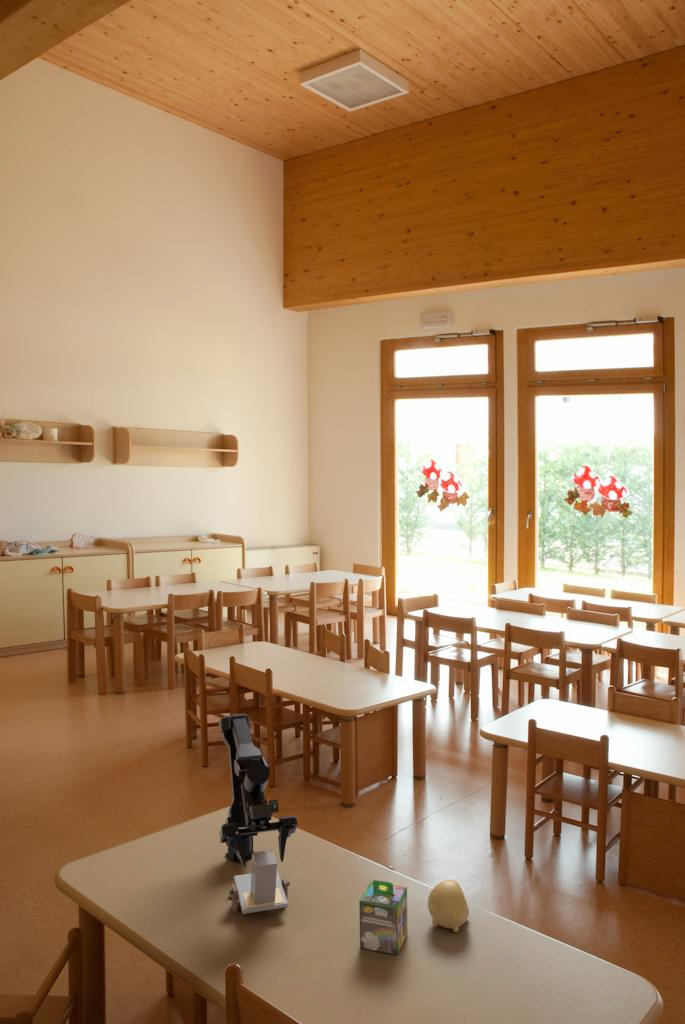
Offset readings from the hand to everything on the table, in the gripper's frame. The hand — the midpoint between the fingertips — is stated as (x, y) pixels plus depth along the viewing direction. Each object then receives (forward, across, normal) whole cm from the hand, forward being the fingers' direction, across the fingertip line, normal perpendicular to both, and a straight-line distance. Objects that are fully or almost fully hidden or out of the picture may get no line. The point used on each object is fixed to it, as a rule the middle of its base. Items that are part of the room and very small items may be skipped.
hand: (263, 864), depth 202 cm
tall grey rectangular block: (+5, 0, +7) cm, 9 cm away
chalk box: (+22, +24, -3) cm, 33 cm away
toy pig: (+21, +42, -2) cm, 47 cm away
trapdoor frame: (+4, 0, +14) cm, 15 cm away
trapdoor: (+5, 0, +12) cm, 13 cm away
